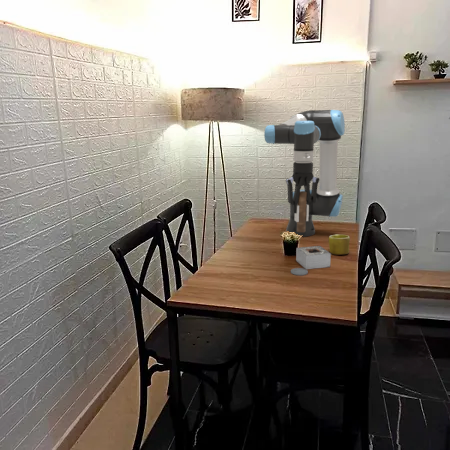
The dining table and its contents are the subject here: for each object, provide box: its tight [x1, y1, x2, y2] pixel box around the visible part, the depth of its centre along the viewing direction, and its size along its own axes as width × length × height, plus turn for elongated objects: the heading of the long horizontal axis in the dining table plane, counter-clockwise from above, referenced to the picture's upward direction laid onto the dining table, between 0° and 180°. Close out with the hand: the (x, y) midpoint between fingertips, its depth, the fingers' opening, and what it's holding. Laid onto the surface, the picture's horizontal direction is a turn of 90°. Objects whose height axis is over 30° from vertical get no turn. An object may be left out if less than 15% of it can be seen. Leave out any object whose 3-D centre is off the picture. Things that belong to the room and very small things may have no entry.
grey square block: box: [295, 245, 332, 270], centre depth 189 cm, size 11×11×6 cm
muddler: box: [297, 191, 307, 232], centre depth 174 cm, size 3×3×16 cm
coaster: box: [290, 267, 309, 277], centre depth 180 cm, size 7×7×1 cm
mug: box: [328, 233, 351, 256], centre depth 203 cm, size 12×10×10 cm
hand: (301, 220), depth 174 cm, fingers closed on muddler, 3 cm apart
